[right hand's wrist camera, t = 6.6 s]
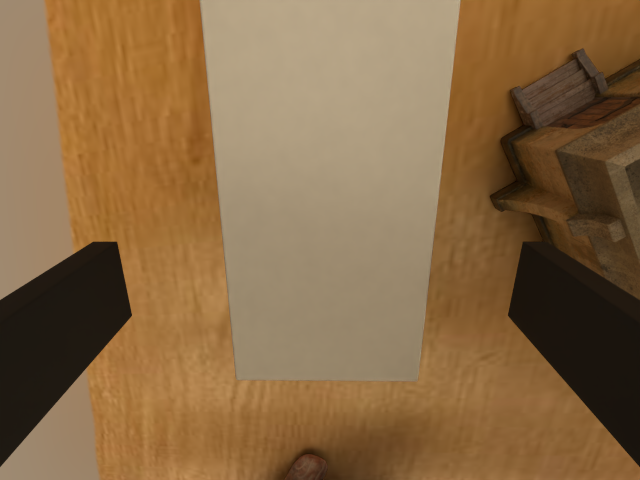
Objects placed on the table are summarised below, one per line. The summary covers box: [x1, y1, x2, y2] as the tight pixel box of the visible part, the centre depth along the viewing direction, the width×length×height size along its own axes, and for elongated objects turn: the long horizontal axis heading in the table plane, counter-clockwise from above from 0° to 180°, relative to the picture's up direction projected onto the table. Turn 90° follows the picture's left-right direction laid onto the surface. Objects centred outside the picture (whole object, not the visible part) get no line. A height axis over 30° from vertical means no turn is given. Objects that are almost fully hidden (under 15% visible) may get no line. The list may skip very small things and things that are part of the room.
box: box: [200, 0, 461, 381], centre depth 14 cm, size 21×6×12 cm, turn 0°
